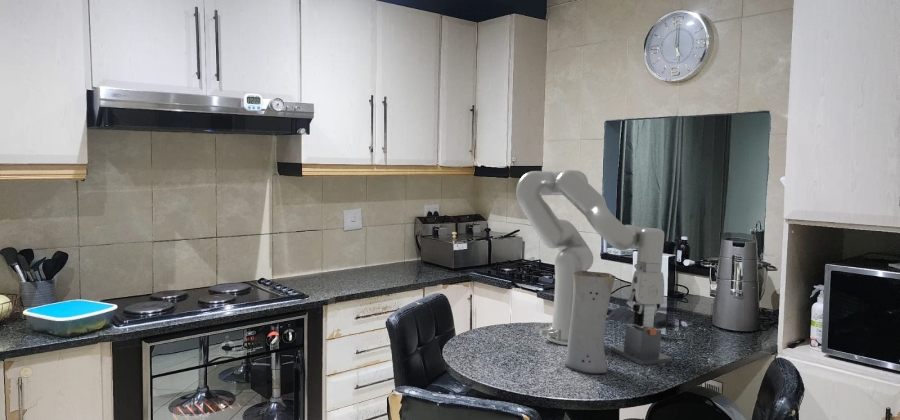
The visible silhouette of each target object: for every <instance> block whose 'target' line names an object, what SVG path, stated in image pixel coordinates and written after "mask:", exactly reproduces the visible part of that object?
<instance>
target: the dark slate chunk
mask: <svg viewBox="0 0 900 420" xmlns="http://www.w3.org/2000/svg"><path fill="white" fill-rule="evenodd" d="M634 314H635V312H634V311H633V310H632V309H625V308H620V307H619V308H618V307H617V308H615V309H614V310H612V311H611V312H610V313H609V314H608V316H607V318H608V320H610V321H616V322H620V323H626V324H628V325H633V324H634ZM669 317H670V315H669V313H665V312H660V311H657V312H656V313H655V319H654V325H653V327H654V328H657V329H659V330H662V329H663V328H666V327H667V326H669V320H670V319H669Z"/></svg>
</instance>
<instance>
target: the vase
mask: <svg viewBox="0 0 900 420" xmlns="http://www.w3.org/2000/svg"><path fill="white" fill-rule="evenodd" d="M573 279H574V286H573V303H572V313H571V321H570V329H569V337H568V345H566V347H567V348H566V356H565V360H564V365H565V366H566V367H567V368H568V369H570V371H575V372H579V373H583V374H589V375H590V374H591V375H597V374H599V375H601V374H608V365H607V361H606V353H605V330H606V328H605V327H606V319H607V313H608V310H609V305H610V299H611V295H612V291H613V287H614V283H615V280H616V275H613V274H611V273H609V272H600V271H598V272H597V271H588V270H587V271H578V272H575V273H573Z"/></svg>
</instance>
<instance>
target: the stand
mask: <svg viewBox="0 0 900 420" xmlns="http://www.w3.org/2000/svg"><path fill="white" fill-rule="evenodd" d="M661 340H662V329H659V328H658V329H657V328H654V327H653V329H648V330H644V331H642V330H640V329H637V328H635V327H634V324H625V333H624V342H623V343H624V344H623V345H619V346H612V347H611V352H614V353H615V354H618V355H620V356H622V357H623V358H626V359H628V360H630V361H632V362H634V363H636V364H639V365H642V366H643V365H655V364H662V363H663V364H664V363H672V361H673V357H670V356H668V355H666V354H664V353H662V352H661V351H660V350H661Z"/></svg>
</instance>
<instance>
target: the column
mask: <svg viewBox="0 0 900 420" xmlns="http://www.w3.org/2000/svg"><path fill="white" fill-rule="evenodd" d="M638 308H639V305H638ZM654 312H655V304H653V305H643V309H642V314H643V320H642V326H638V325H635V324H634V327H635V328H637V329H640V330H642V331H644V330H648V329H653V323H654Z"/></svg>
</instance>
